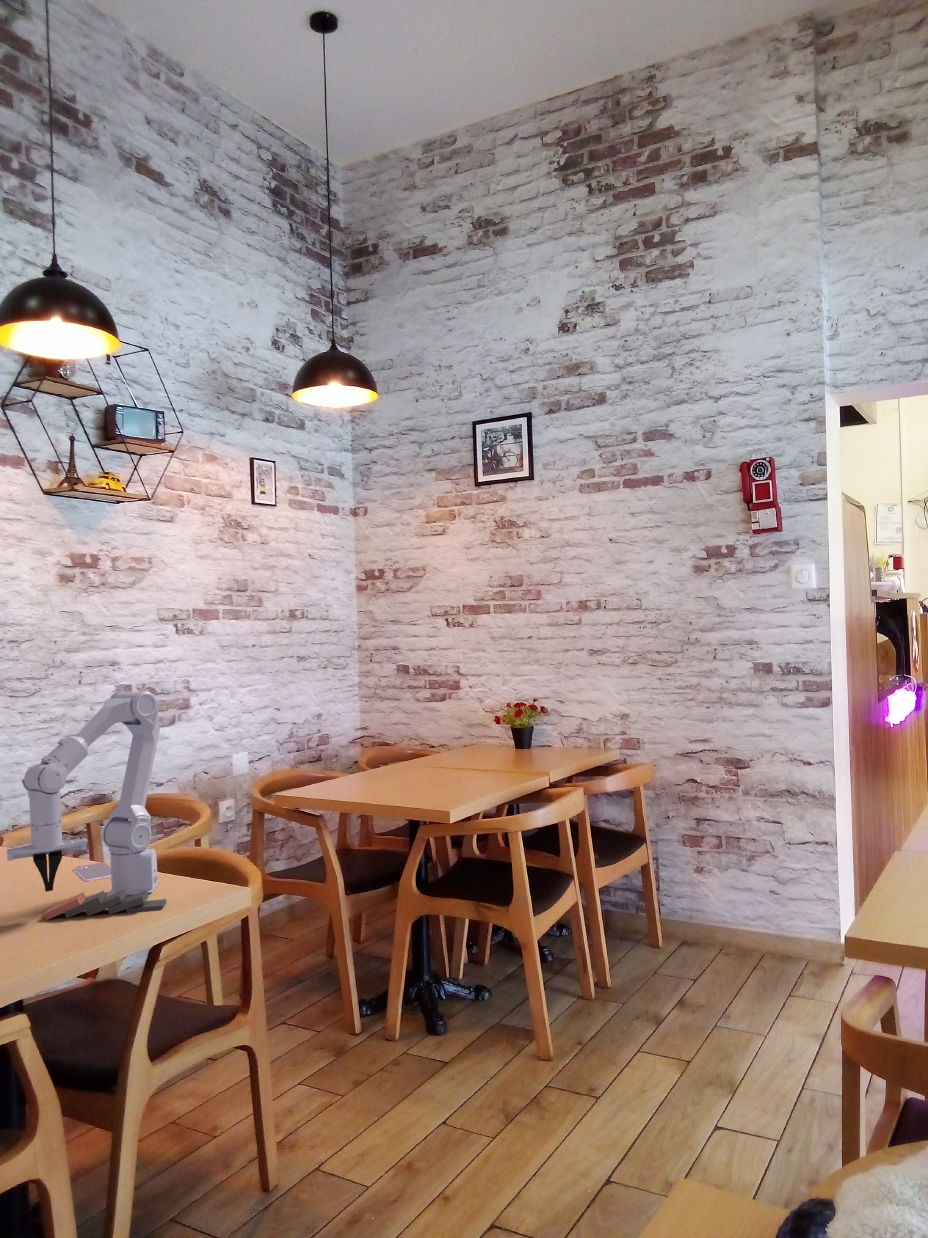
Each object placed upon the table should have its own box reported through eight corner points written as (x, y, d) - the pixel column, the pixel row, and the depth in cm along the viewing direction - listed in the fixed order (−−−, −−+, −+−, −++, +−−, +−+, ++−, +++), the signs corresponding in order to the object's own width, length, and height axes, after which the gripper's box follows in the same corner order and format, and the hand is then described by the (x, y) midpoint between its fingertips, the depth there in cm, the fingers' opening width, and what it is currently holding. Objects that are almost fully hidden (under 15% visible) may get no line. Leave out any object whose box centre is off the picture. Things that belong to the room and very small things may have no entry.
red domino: (53, 913, 182) (86, 898, 183) (46, 920, 177) (80, 905, 178) (50, 907, 182) (83, 892, 183) (43, 914, 177) (77, 898, 178)
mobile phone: (85, 879, 205) (72, 866, 217) (85, 883, 205) (72, 871, 217) (119, 873, 209) (104, 861, 221) (119, 877, 209) (105, 865, 221)
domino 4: (131, 909, 184) (166, 906, 185) (126, 915, 180) (162, 912, 181) (131, 902, 184) (166, 899, 185) (126, 908, 180) (162, 905, 181)
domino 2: (94, 910, 183) (126, 895, 184) (88, 916, 178) (121, 902, 179) (91, 903, 183) (124, 889, 184) (85, 910, 178) (118, 895, 179)
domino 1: (73, 911, 182) (106, 897, 183) (66, 918, 178) (100, 903, 179) (70, 905, 182) (103, 890, 183) (64, 912, 178) (97, 897, 179)
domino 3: (115, 908, 183) (148, 897, 184) (109, 914, 179) (143, 903, 180) (113, 901, 183) (146, 890, 184) (107, 908, 179) (141, 897, 180)
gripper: (83, 814, 186) (86, 879, 186) (6, 824, 180) (8, 891, 180) (85, 820, 180) (88, 887, 180) (5, 831, 174) (8, 900, 173)
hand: (49, 890), depth 179 cm, fingers closed
